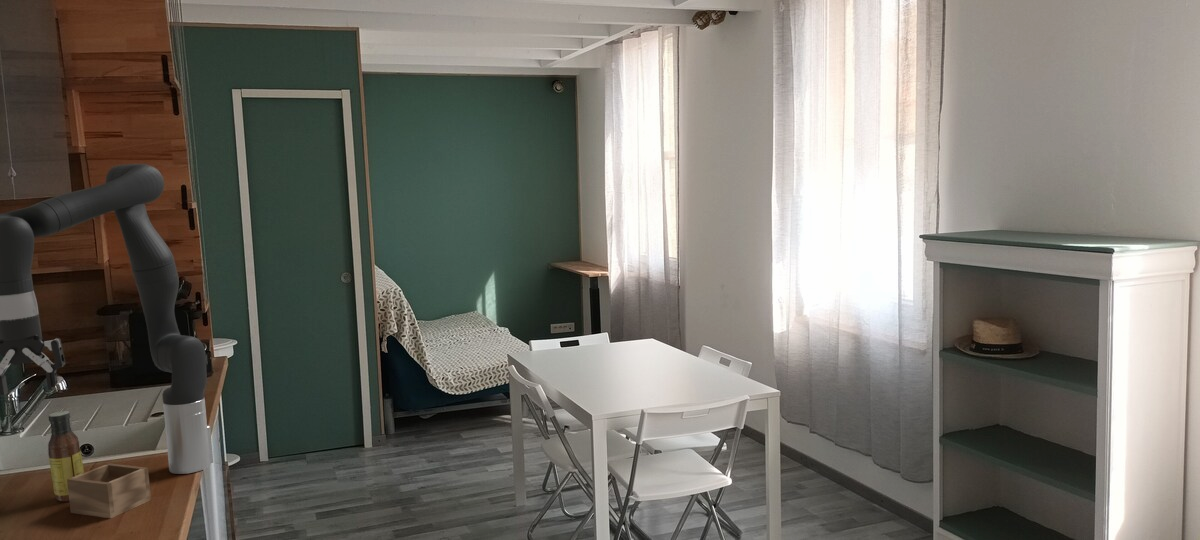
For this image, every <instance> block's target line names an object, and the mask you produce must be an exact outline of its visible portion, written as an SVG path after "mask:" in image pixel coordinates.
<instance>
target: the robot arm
mask: <svg viewBox="0 0 1200 540" xmlns="http://www.w3.org/2000/svg"><path fill="white" fill-rule="evenodd" d="M164 188H165V179H164V177H163V175H162V174H161V172H160V171H159V169H158V168H156V167H154V166H152V165H150V164H146V163H132V164H127V163H126V164H118V165H114V166H113V167H111V168H110V169H109V170H108V171H107V174H106V177H105V183H103V184H99V185H95V186H92V187H87V188H84V189H79V190H73V191H70V192H67V193H63V194H59V195H57V196H53V197H51V198H47V199H45V200H41V201H40V202H37V203H35V204H31V205H30V206H27V207H24V208H20V209H19V208H18V209H14V210H12V211H7V212H2V213H0V356H1V357H2V360H1V361H0V396H1V397H2V396H3V397H5V396H6V395H7V394H8V393H9V389H8V383H7V376H6V375H5V373H6V371H7V369H8V368H9V367H10V365H13V366H17V365H20V364H25V365H27V364H32V363H35V364H36V365H37V366H39V367H41V368H42V369H43V370H44V371H46V373H45V377H46V383H47V384H46V386H47V389H48V391H53V390H54V389H55V388H56V387H57V385H58V383H59V382H58V377H57V370H58V369H61V368H63V367H64V366H65V365H66V358H65V354H64V348H63V344H62V340H61V338H59V337H56V338H55V339H51V340H44V338H43V335H42V327H41V320H40V313H39V307H38V306H39V305H38V302H37V301H38V300H37V297H36V294H35V288H34V282H33V274H32V267H33V266H32V264H33V261H34V251H35V239H36V238H42V237H43V238H44V237H49V236H52V235H55V234H58V233H60V232H63V231H65V230H67V229H70V228H72V227H74V226H77V225H79V224H83V223H85V222H87V221H90V220H91V219H94V218H98V217H100V216H103V215H105V214H108V213H111V212H114V214H115V217H116V219H117V222H118V225H119V228H120V230H121V234H122V237H123V241H124V245H125V247H126V251H127V255H128V257H129V263H130V267H131V271H132V274H133V278H134V282H135V283H134V284H135V286H136V288H137V292H138V295H139V299H140V303H141V307H142V312H143V315H144V319H145V324H146V330H147V336H148V337H147V338H148V343H149V352H150V355H151V356H150V357H151V358H152V362H153V363H154V366H155V367H156V368H157V369H159V370H160V371H162V372H165V373H171V386H170V387H167V388H165V389H164V390H163V391H162V393H161V394H162V395H161V396H162V407H163V416H164V426H165V436H166V437H165V438H166V439H165V441H166V449H167V459H168V470H169V472H170V473H171V474H175V475H176V474H177V475H182V474H183V475H186V474H192V473H196V472H201V471H203V470H205V469H208V468H209V467H210V466H211V464H213V463H214V454H213V442H212V430H211V429H212V428H211V426H210V425H208V424H207V423H208V422H207V421H208V420H207V410H206V399H205V391H206V387H207V383H208V382H207V381H208V379H207V378H208V376H207V355H206V349H205V346H204V344H203V342H202V341H201V340H200V339H199V338H197V337H195V336H191V335H184V334H183V335H182V334H181V332H180V330H179V328H178V323H177V320H176V315H175V314H176V313H175V306H176V305H175V304H176V301H177V297H178V293H179V289H180V285H179V284H180V280H179V274H178V270H177V266H176V265H177V264H176V262H175V257H174V254H173V253H172V251H171V248H169V246H168V245H167V243H166V242H165V240H164V239H163V238H162V237H161V235H160V234H159V233H158V231H157V230H156V229H155V228H154V226H153V224H152V223H151V220H150V217H149V214H148V211H147V207H146V205H147V204H149V203H152V202H155V201H156V200H157V199H159V198H160V197H161V195H162V194H163V191H164V190H165V189H164ZM145 204H146V205H145ZM46 347H47V349H48V350H49V351H51V352H52V355H53V356H52V357H53V361H54V363H53V362H52V360H50V358H49V357H48V356H47V355H46V354H45V353H43V351H44V349H45V348H46Z"/></svg>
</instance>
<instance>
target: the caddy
mask: <svg viewBox="0 0 1200 540" xmlns="http://www.w3.org/2000/svg"><path fill="white" fill-rule="evenodd" d="M149 475H150V474H149V467H143V466H135V465H126V464H117V463H109V462H108V463H106V464H104V465H101V466H99V467H96V468H93V469H91V470H88V471H84V473H83V474H80V475H77V476H75V477H72V478H70V479H67V484H68V493H69V501H68V502H69V509H70V511H69V512H70V514H76V515H83V516H91V517H98V518H105V519H113V518H115V517H117V516H120V515H122V514H123V513H126V512H128V511H130V510H132V509H135V508H136V507H139V506H141V505H143V504H146V503H147V502H150V501H152V498H151V497H152V496H151V495H152V494H151V487H150V476H149Z"/></svg>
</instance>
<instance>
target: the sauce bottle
mask: <svg viewBox="0 0 1200 540" xmlns="http://www.w3.org/2000/svg"><path fill="white" fill-rule="evenodd" d="M70 418H71V413H70V411H68V410H61V411H55V412H52V413H50V414H48V422H50V429H51V430H50V431H51V432H50V433H51V435H50V439H49V440H48V445H47V446H48V447H47V451H48V459H49V465H50V472H51V480H52V486H53V493H54V495H55V498H56V500H57V501H59V502H69V493H68V484H67V479H70V478H72V477H75V476H77V475H80V474H83V473H85V471H84V463H83V457H82V451H81V448H80V441H79V437H78V436H77V435H76V433H74V431H73V430H72V427H71V421H70Z"/></svg>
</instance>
